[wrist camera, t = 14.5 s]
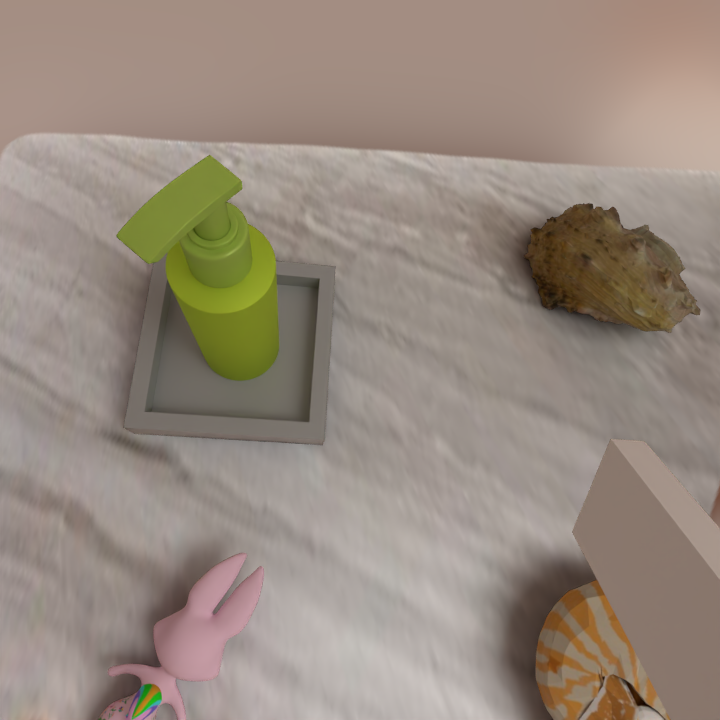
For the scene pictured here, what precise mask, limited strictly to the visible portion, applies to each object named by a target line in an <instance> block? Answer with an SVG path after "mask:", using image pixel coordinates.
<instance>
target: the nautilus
mask: <svg viewBox="0 0 720 720" xmlns="http://www.w3.org/2000/svg"><path fill="white" fill-rule="evenodd" d="M536 681H537V684H538V687H539V691H540V694H541V697H542V700H543V702H544V705H545V707H546V709H547V711H548V712H549V714H550V715H551V717H552V718H553V719H554V720H670V718H669V716H668V714H667V712H666V710H665V708H664V706H663V704H662V702H661V700H660V699H659V697H658V695H657V693H656V691H655V689H654V687H653V685H652V683H651V681H650V680H649V678H648V676H647V674H646V672H645V670H644V668H643V666H642V664H641V662H640V660H639V659H638V657H637V655H636V653H635V651H634V649H633V647H632V645H631V643H630V641H629V640H628V638H627V636H626V634H625V632H624V630H623V628H622V626H621V624H620V622H619V620H618V619H617V617H616V615H615V613H614V611H613V609H612V607H611V605H610V603H609V601H608V600H607V598H606V596H605V594H604V592H603V590H602V588H601V586H600V584H599V582H598V580H595V581H592V582H590V583H588V584H585V585H583V586H580V587H578V588H575V589H572V590H570V591H568V592H567V593H566V594H565V595H564V596H563V597H562V598H561V599H560V600H559V601H558V602H557V603H556V604H555V606H554V607H553V608H552V610H551V611H550V613H549V614H548V616H547V617H546V621H545V623H544V625H543V628H542V630H541V632H540V635H539V639H538V645H537V650H536Z"/></svg>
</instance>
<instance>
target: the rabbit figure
mask: <svg viewBox="0 0 720 720" xmlns="http://www.w3.org/2000/svg"><path fill="white" fill-rule="evenodd" d="M246 557H247V554H246V553H239V554H236V555H234V556H232V557H230V558H228V559H226V560H224V561H222V562H220V563H219V564H217V565H215V566H214V567H213V568H211V569H210V570H209V571H208V572H207V573H206V574H205V575H203V576H202V577H201V578H200V579H199V580H198V581H197V582H196V583H195V585H194V586H193V587H192V589H191V590H190V593H189V596H188V601H187V604H186V606H185V607H184V608H183V609H181V610H180V611H178V612H176V613H174V614H172V615H170V616H168V617H166V618H164V619H162V620H160V621H158V622H157V623H156V624H155V626H154V630H153V637H154V645H155V649H156V653H157V656H158V659H159V662H160V664H161V665H162V666H161V667H152V666H148V665H142V664H123V665H116V666H112V667H110V668H109V669H108V675H109V676H117V675H119V674H124V673H128V674H133V675H136V676H138V677H139V678H140V680H141V688H140V689H139V691H138V692H136V693H135V694H133V695H131V696H128V697H126V698H123V699H120V700H117V701H115V702H113V703H112V704H110V705H109V706H108V707H107V708H106V709H105V710H104V711H103V712H102V714H101V715H100V717H99V718H98V720H155V718H156V713H157V710H158V708H159V706H160V705H161V704H164V703H168V704H170V705H171V706H172V707H173V708H174V710H175V712H176V715H177V720H186V713H185V708H184V704H183V701H182V697H181V694H180V692H179V690H178V688H177V685H176V678H177V679H180V680H185V681H208V680H212V679H214V678H215V677H216V676H217V675H218V673H219V670H220V665H221V660H222V656H223V651H224V647H225V643H226V641H227V640H228V639H229V638H231V637H233V636H235V635H237V634H239V633H240V632H241V631H242V630H243V628H244V627H245V626H246V624H247V623H248V621H249V619H250V617H251V615H252V613H253V611H254V609H255V607H256V605H257V602H258V599H259V596H260V592H261V588H262V583H263V578H264V569H263V567H262V566H260V567H258V568H257V569H256V570H255V571H254V572H253V573H252V574H251V575H250V576H249V577H247V578H246V579H245V580H244V581H243V582H242V583H241V584H240V585H239V586H238V587H237V588H236V589H235V591H234V592H233V593H232V594H231V595H230V597H229V598H228V599H227V600H226V602H225V603H224V604H223V605H222V607H221V608H220V609H219V611H218V612H217V613H216V614H213V610H214V609H215V607H216V606H217V605H218V603H219V602H220V601H221V599H222V598H223V596H224V595H225V594H226V592H227V591H228V589H229V588H230V586H231V585H232V583H233V582H234V580H235V578H236V577H237V575H238V573H239V571H240V569H241V566H242V564H243V563H244V561H245V559H246Z"/></svg>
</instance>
